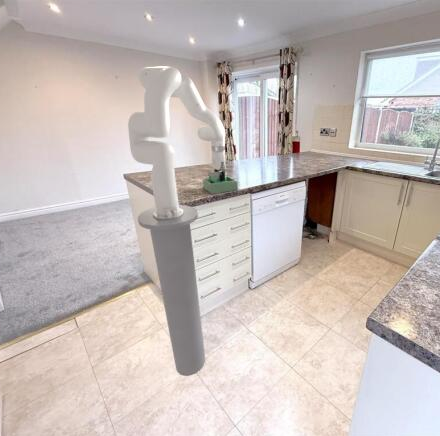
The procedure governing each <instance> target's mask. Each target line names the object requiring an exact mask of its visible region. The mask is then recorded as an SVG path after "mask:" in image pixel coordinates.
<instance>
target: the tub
mask: <svg viewBox="0 0 440 436" xmlns="http://www.w3.org/2000/svg"><path fill="white" fill-rule="evenodd" d="M202 185H203V186H202V187H203V189H204V190H205V191H206V192H208V193H209V194H211V195H215V194H220V193H228V192H232V191H238V190H239V189H238V188H239V187H238V180H237V179H235V178H233V177H231V176H229V175H226V182H220V183H213V184H211V183H210V179H209V177H208V178H203V179H202Z"/></svg>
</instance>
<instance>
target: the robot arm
mask: <svg viewBox="0 0 440 436" xmlns="http://www.w3.org/2000/svg"><path fill="white" fill-rule="evenodd" d="M138 79H139V82H140V84H141V86H142V87H143V88H144V89H145V92H144V95H143V96H144V97H143V98H144V99H143V102H144V103H143V104H144V111H135V112H133V113H132V114H131V115H130V116H129V119H128V124H127V129H128V137H129V147H130V153H131V156H132V158H133V160H135V161H136V162H137V163H140V164H144V165H152V168H151V171H150V182H151V187H152V193H153V200H154V205H155V207H156V211H155V212H154V213H153V217H154V218H156V219H162V220H167V219H174V218H177V217H180V216H181V215H182V214H183V210H182V209H181V208H179V205H180V203H179V196H178V187H177V180H176V173H175V162H176V161H175V160H176V152H175V149H174V148H173V146H171V145H170V144H169V143H167V142H164V141H159V140H158V141H157V140H151V138H154V139H164V138H166V137H168V136H169V135H170V107H169V105H170V98H179V99H180V102H181V103H182V104H183V106H184V108H185V109H186V111H187V113H188V115H189V116H190V117H192V118H194V119H196V120H198V121H200V122H202V123H204V124H206V125H201V126H200V127H198V129H197V136H198V138H199V139H200V140H201V141H206V142H210V147H211V150H210V151H211V167H212V169H213V173H214V172H217V171H219V172H220V175H219V176H220V182H221V181H225V171H227V164H226V154H225V153H226V142H225V141H226V140H225V138H226V130H225V128H224V125H223V123H222V121H221V119H220V117H218V116H217V114H215V113H214V112H213V111H212V110H211V109H209V108H208V107H207V106H206V105H205V103H204V101H203V99H202V97H201V95H200V93H199V91H198V89H197V86H196V85H195V83H194V81H193V80H192V79H191V78H190V77H189V76H187V75H182V73H181V71H180V70H178V68H175V67H173V66H145V67H143V68H142V69H141V70H140V71H139V74H138ZM221 171H222V172H221Z"/></svg>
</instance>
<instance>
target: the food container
mask: <svg viewBox="0 0 440 436" xmlns="http://www.w3.org/2000/svg"><path fill="white" fill-rule="evenodd" d="M222 171H223V170H221V172H222ZM219 175H220V172H219V171H217V172H214V171H213V172H212V171H208V173H207V176H208V178H209V179H210V183H211V184H213V183H220V176H219ZM226 176H228V171H227V170H226V171H225V181H221V182H226Z"/></svg>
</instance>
